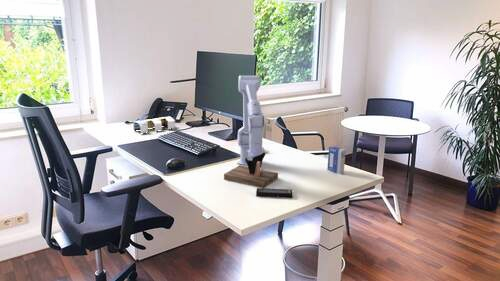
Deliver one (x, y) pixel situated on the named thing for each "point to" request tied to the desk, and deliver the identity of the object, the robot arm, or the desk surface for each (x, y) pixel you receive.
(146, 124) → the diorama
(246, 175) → the pin plate
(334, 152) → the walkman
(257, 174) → the pin
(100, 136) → the desk surface
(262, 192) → the multiport hub
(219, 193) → the desk surface
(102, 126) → the desk surface
